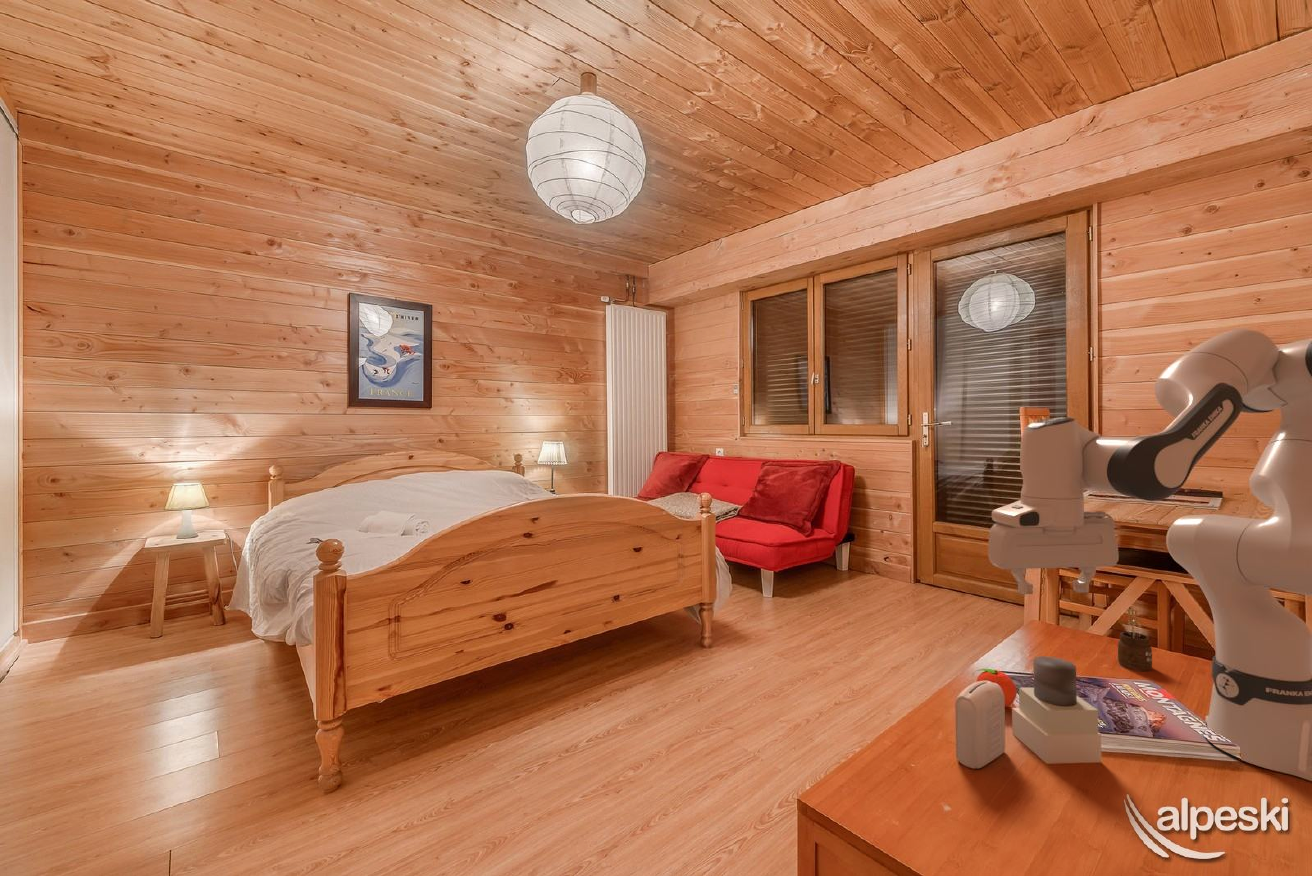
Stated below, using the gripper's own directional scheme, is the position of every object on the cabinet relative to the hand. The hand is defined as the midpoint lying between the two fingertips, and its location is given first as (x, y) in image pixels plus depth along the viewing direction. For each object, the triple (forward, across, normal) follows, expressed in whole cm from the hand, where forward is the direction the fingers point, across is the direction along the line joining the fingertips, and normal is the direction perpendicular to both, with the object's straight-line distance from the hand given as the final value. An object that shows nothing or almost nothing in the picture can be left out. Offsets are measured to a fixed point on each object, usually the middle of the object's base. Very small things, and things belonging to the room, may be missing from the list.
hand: (1053, 592), depth 96 cm
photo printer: (+27, +14, +2) cm, 31 cm away
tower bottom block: (+27, 0, 0) cm, 27 cm away
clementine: (+27, +2, -15) cm, 31 cm away
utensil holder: (+27, -39, -31) cm, 57 cm away
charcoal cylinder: (+18, 0, 0) cm, 18 cm away
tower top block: (+22, 0, 0) cm, 22 cm away
